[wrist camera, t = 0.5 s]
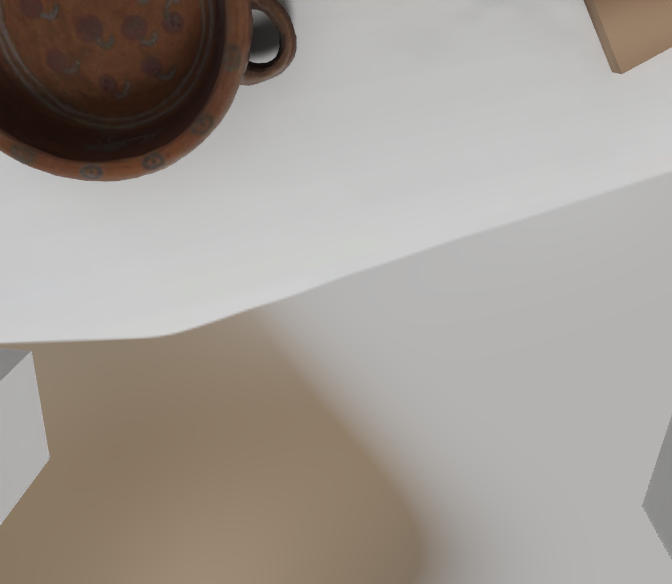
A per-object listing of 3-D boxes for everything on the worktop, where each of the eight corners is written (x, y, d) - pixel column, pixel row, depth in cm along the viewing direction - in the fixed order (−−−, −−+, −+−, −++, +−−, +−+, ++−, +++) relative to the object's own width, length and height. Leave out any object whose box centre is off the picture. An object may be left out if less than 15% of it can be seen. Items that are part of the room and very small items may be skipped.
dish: (-109, -189, 32) (-190, -224, 28) (311, -158, 32) (299, -189, 27) (-52, 148, 39) (-109, 164, 35) (294, 180, 38) (282, 200, 34)
